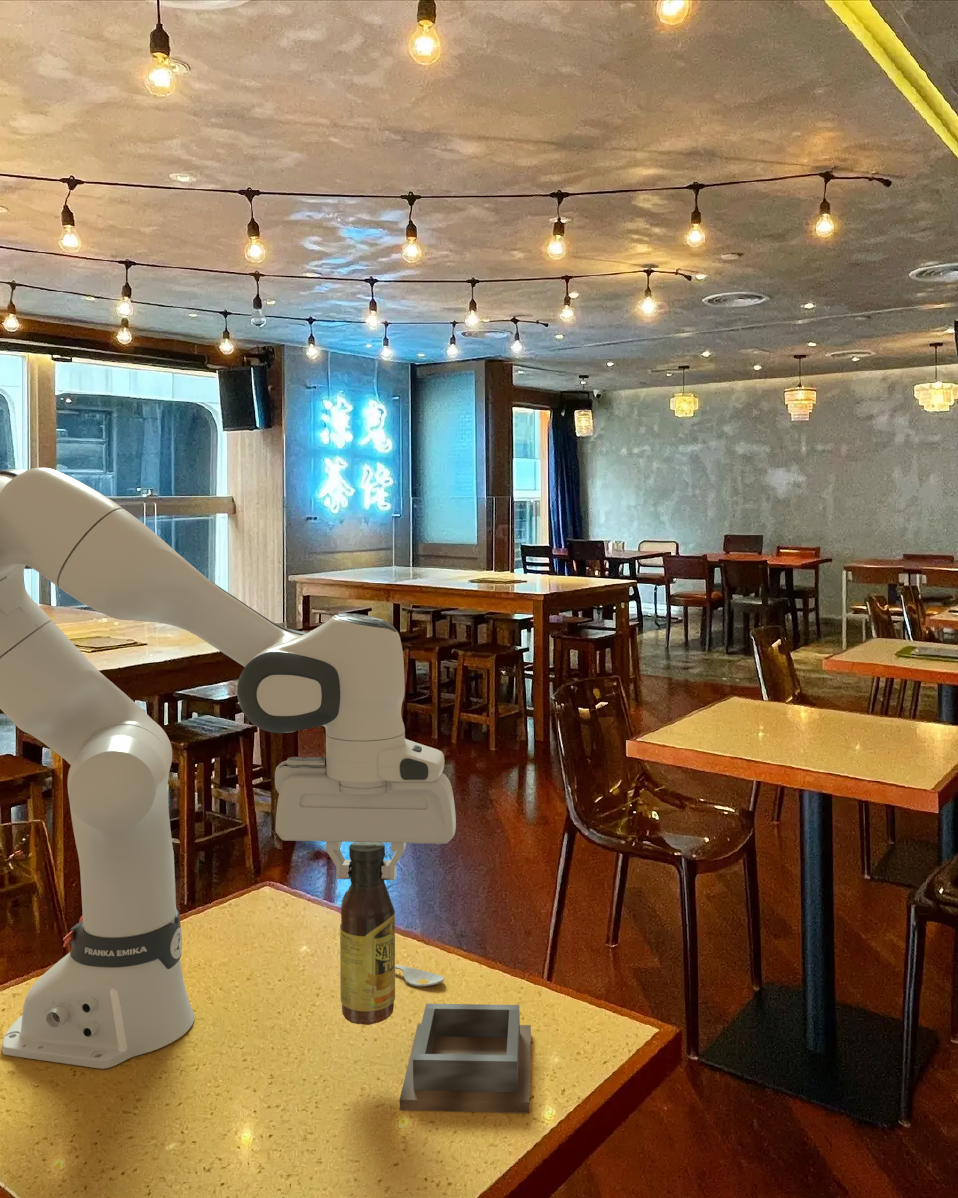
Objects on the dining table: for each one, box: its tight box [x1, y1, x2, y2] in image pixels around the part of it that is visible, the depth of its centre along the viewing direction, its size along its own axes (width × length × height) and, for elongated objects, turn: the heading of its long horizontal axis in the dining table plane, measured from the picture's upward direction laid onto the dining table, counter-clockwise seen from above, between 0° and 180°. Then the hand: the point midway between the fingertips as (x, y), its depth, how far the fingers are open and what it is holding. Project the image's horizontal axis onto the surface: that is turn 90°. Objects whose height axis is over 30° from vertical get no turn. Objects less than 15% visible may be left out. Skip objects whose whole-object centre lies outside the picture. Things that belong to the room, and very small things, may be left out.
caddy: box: [398, 1003, 532, 1114], centre depth 113 cm, size 14×16×5 cm
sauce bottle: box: [339, 842, 396, 1026], centre depth 111 cm, size 6×6×20 cm
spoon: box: [395, 964, 445, 987], centre depth 138 cm, size 4×21×2 cm, turn 56°
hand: (366, 878), depth 111 cm, fingers closed on sauce bottle, 4 cm apart
